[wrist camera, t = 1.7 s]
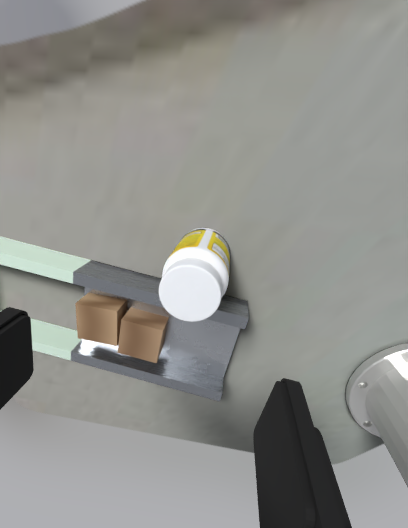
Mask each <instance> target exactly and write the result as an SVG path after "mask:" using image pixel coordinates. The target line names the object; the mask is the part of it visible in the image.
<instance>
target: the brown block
mask: <svg viewBox="0 0 408 528" xmlns="http://www.w3.org/2000/svg"><path fill="white" fill-rule="evenodd" d="M168 320H169V317H165V316H162V315H158V314H154V313H150V312H147V311H143V310H139V309H135V308H132V307H130V309H129V310H128V311H127V313H126V314H125V315H124V317H123V318H122V319H121V327H120V335H119V344H118V352H117V353H120V354H124V355H128V356H131V357H135V358H139V359H142V360H146V361H150V362H153V363H157V361H158V358H159V356H160V353H161V351H162V349H163V344H164V339H165V334H166V329H167V325H168Z"/></svg>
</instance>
